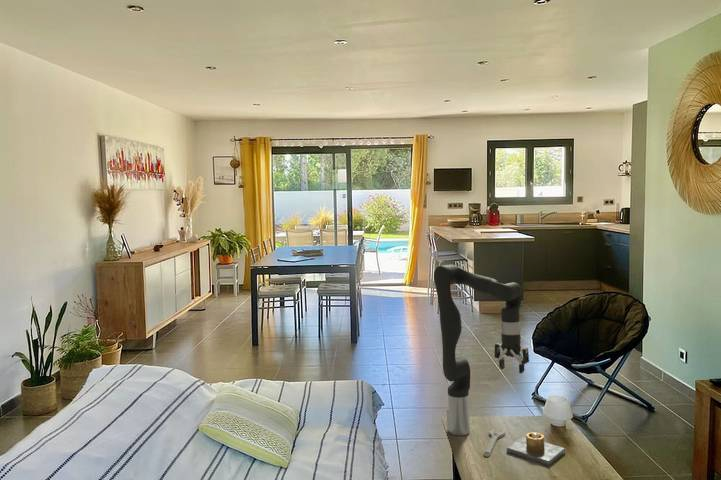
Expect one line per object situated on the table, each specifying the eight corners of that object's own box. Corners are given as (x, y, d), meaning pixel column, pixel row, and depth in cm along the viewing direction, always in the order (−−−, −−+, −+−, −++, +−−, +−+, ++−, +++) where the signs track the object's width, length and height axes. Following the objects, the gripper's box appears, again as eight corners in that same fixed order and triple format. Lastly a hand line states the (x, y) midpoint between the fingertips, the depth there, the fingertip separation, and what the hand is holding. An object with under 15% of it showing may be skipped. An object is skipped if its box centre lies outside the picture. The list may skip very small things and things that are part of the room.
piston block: (506, 452, 217) (506, 433, 216) (523, 440, 227) (523, 422, 226) (548, 466, 204) (548, 445, 203) (564, 452, 214) (564, 433, 213)
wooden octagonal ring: (524, 448, 215) (523, 436, 215) (531, 442, 220) (531, 430, 219) (538, 452, 211) (538, 440, 210) (546, 447, 215) (546, 435, 215)
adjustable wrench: (489, 458, 213) (489, 454, 213) (473, 455, 216) (473, 451, 216) (506, 433, 235) (506, 429, 234) (492, 431, 238) (492, 427, 238)
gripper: (490, 331, 218) (491, 369, 219) (522, 336, 208) (523, 376, 209) (500, 327, 223) (501, 365, 224) (531, 332, 213) (532, 371, 214)
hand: (511, 370), depth 217 cm, fingers open, 8 cm apart
